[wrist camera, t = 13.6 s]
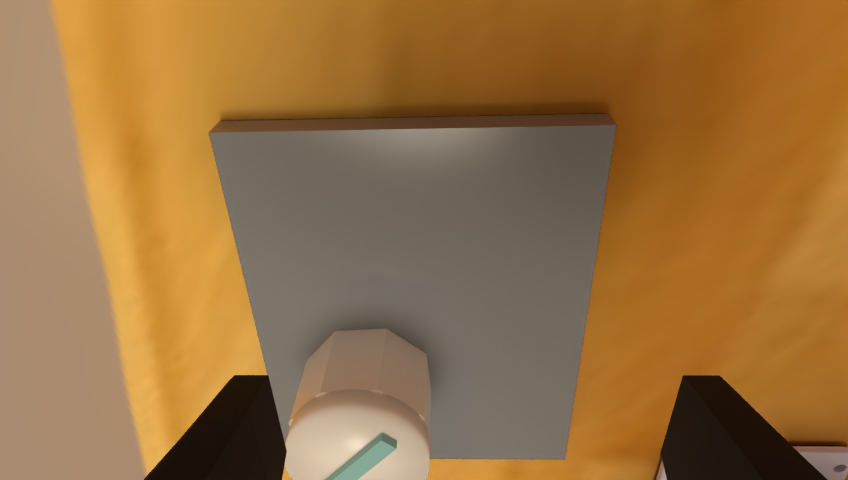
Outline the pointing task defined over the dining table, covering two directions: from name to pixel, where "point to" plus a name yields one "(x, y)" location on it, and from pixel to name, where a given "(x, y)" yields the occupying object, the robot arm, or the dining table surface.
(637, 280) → the dining table surface
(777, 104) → the dining table surface
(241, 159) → the board
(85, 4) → the dining table surface
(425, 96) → the dining table surface
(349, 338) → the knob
